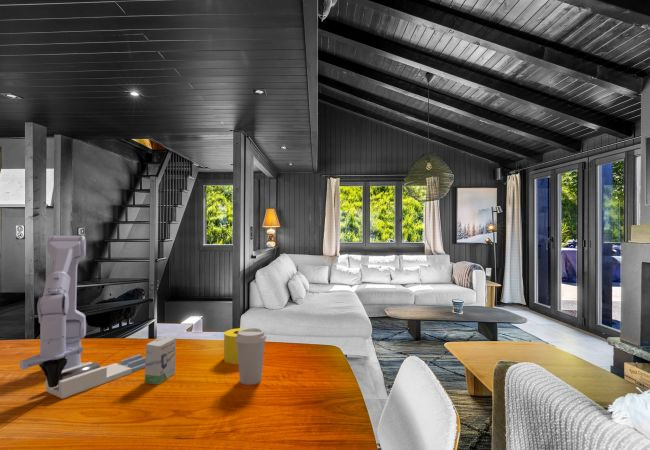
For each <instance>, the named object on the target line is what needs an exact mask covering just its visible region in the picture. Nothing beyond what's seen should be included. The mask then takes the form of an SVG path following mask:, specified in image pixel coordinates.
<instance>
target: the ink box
mask: <svg viewBox="0 0 650 450" xmlns="http://www.w3.org/2000/svg"><path fill="white" fill-rule="evenodd" d="M176 349H177V338H176V337H169V336H161V337H158V338H157V339H154V340H152V341H150V342H148V343H146V345H145V357H146V360H145V369H144V384H153V385H157V386H158V385H160V384H161V383H163V382H164V381H166V380H168V379H169V378H170V377H172V376H173V375H175V374H176V359H177V351H176Z"/></svg>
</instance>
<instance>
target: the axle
mask: <svg viewBox="0 0 650 450" xmlns="http://www.w3.org/2000/svg"><path fill="white" fill-rule="evenodd" d="M100 367H101V366H100V364H99V363H98V362H97V361H95V362H92V364H89V365H86V366H83V367H79V368H76V369H73V370H70V371H67V372H63V373H61V375H60V378H59V381H60V380H63V379H66V378H69V377H72V376H75V375H79V374H82V373H85V372H88V371H91V370H94V369H97V368H100ZM59 381H58V387H59Z"/></svg>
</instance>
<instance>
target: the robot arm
mask: <svg viewBox="0 0 650 450" xmlns="http://www.w3.org/2000/svg"><path fill="white" fill-rule="evenodd" d="M46 247H47V248H46V249H47V253H48V254H49V256H50V258H51V259H52V261H53V266H52V267H53V268H52V272H51V273H50V274H49V275H47V277H46V280H45V285H44V289H43V293H42V296H41V297H39V298H38V301H37V316H38V323H39V324H40V326H39V327H40V328H39V329H40V333H39V334H40V337H39V338H40V339H39V340H40V341H39V342H40V344H39V345H40V346H39V349H40V350H39V352H40V353H39V354H37V355H34V356H31V357H28V358H25V359H22V360H20V361H19V369H21V370H23V371H24V370H27V369H28V368H32V367H35V366H38V367H40V369H41V370H42V373H43V374H44V376H45V380H46V379H47V382H48V386H49V387H51V388H53V387H56V386H57V385H58V381H59V378H60V375H61V373H62V370H65V369H68V368H72V367H75V366H78V365H81V364H85V363H86V362H81V360H82V359H81V356H82V355H81V354H83V353H84V349H83V348H84V346H82V339H84V338H85V337H86V334H87V320H86V317H87V316H86V315H85V313H83V312H81V311H79V310H77V298H78V297H77V294H78V293H77V292H78V291H77V290H78V288H77V287H78V266H79V263H80V261H83V260H85V259H86V256H87V254H86V253H87V251H86V250H87V238H86V236H85V235H83V234H81V235H50V236H48V238H47V243H46Z"/></svg>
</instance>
